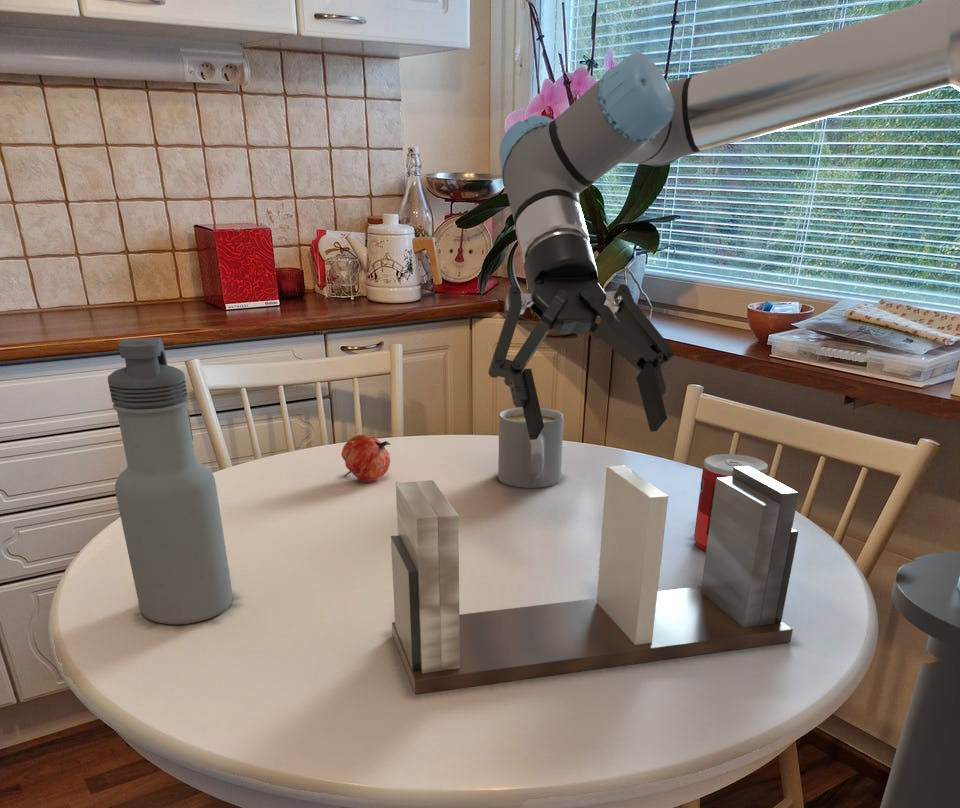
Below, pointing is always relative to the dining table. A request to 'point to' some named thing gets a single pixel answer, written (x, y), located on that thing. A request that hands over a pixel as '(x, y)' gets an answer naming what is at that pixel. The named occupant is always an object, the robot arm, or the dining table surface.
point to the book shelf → (584, 624)
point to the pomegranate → (366, 457)
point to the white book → (631, 552)
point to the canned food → (711, 470)
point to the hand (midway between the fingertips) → (599, 429)
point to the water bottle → (166, 493)
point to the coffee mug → (530, 449)
